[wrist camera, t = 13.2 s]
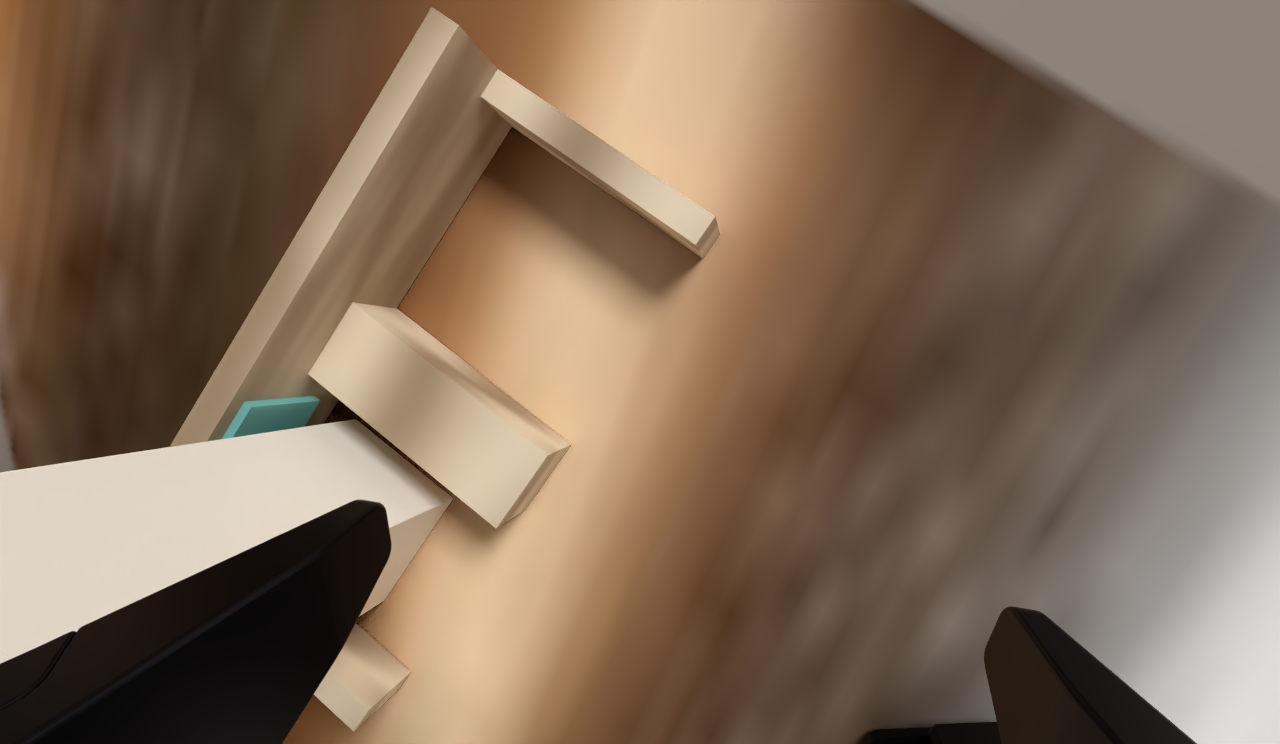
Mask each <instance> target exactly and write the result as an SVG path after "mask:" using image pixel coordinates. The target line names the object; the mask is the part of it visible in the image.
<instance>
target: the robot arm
mask: <svg viewBox="0 0 1280 744" xmlns="http://www.w3.org/2000/svg"><path fill="white" fill-rule="evenodd" d="M391 547H392V544H391V536H390V530H389V524H388V517H387V511H386V508H385V507H384V505H383V504H381V503H379V502H374V501H368V500H362V499H361V500H354V501H351V502H349V503H347V504H345V505H343V506H341V507H338V508H336V509H334V510H332V511H330V512H328V513H326V514H323V515H321V516H319V517H317V518H315V519H313V520H310V521H308V522H306V523H304V524H302V525H300V526H297V527H295V528H293V529H291V530H289V531H287V532H285V533H282V534H280V535H278V536H276V537H274V538H272V539H269V540H267V541H265V542H263V543H261V544H259V545H257V546H254V547H252V548H250V549H248V550H246V551H244V552H241V553H239V554H237V555H235V556H233V557H231V558H228V559H226V560H224V561H222V562H220V563H218V564H215V565H213V566H211V567H209V568H207V569H205V570H203V571H200V572H198V573H196V574H194V575H192V576H190V577H187V578H185V579H183V580H181V581H179V582H177V583H174V584H172V585H170V586H168V587H166V588H164V589H161V590H159V591H157V592H155V593H153V594H151V595H149V596H146V597H144V598H142V599H140V600H138V601H136V602H133V603H131V604H129V605H127V606H125V607H123V608H120V609H118V610H116V611H114V612H112V613H110V614H107V615H105V616H103V617H101V618H99V619H97V620H95V621H92V622H90V623H88V624H86V625H84V626H82V627H80V628H79V629H78V631H77V632H76V631H71V632H68V633H66V634H64V635H62V636H60V637H58V638H56V639H53V640H51V641H49V642H47V643H45V644H43V645H40V646H38V647H36V648H34V649H32V650H30V651H27V652H25V653H23V654H21V655H18V656H16V657H14V658H12V659H9V660H7V661H5V662H3V663H1V664H0V744H282V743H283V741H284V739H285V738H286V736H287V735H288V733H289V732H290V730H291V729H292V727H293V725H294V724H295V722H296V721H297V719H298V718H299V716H300V715H301V713H302V711H303V710H304V708H305V707H306V705H307V704H308V702H309V701H310V699H311V697H312V696H313V694H314V693H315V691H316V690H317V688H318V687H319V685H320V684H321V682H322V680H323V679H324V677H325V676H326V674H327V673H328V671H329V670H330V668H331V666H332V665H333V663H334V662H335V660H336V658H337V657H338V655H339V653H340V652H341V650H342V648H343V646H344V645H345V643H346V641H347V639H348V637H349V636H350V634H351V632H352V630H353V628H354V626H355V624H356V622H357V620H358V618H359V616H360V614H361V612H362V610H363V608H364V606H365V604H366V602H367V600H368V599H369V597H370V595H371V593H372V591H373V589H374V587H375V585H376V583H377V581H378V579H379V577H380V575H381V573H382V571H383V569H384V567H385V565H386V564H387V562H388V559H389V557H390V553H391ZM984 663H985V669H986V674H987V678H988V683H989V687H990V692H991V696H992V701H993V706H994V710H995V715H996V719H997V722H982V723H956V724H936V725H934V726H933V727H932V728H906V729H880V730H875V731H873V732H872V733H870V734H869V736H868V737H867V739H866V744H1197V743H1196V742H1194V741H1193V740H1192V739H1191V738H1190V737H1188V736H1187V735H1186V734H1185V733H1184V732H1183V731H1181V730H1180V729H1179V728H1178V727H1177V726H1175V725H1174V724H1173V723H1172V722H1171V721H1170V720H1168V719H1167V718H1166V717H1165V716H1164V715H1163V714H1161V713H1160V712H1159V711H1158V710H1157V709H1155V708H1154V707H1153V706H1152V705H1151V704H1150V703H1148V702H1147V701H1146V700H1145V699H1144V698H1142V697H1141V696H1140V695H1139V694H1138V693H1137V692H1135V691H1134V690H1133V689H1132V688H1131V687H1129V686H1128V685H1127V684H1126V683H1125V682H1124V681H1122V680H1121V679H1120V678H1119V677H1118V676H1117V675H1115V674H1114V673H1113V672H1112V671H1111V670H1109V669H1108V668H1107V667H1106V666H1105V665H1104V664H1102V663H1101V662H1100V661H1099V660H1098V659H1096V658H1095V657H1094V656H1093V655H1092V654H1091V653H1089V652H1088V651H1087V650H1086V649H1085V648H1084V647H1082V646H1081V645H1080V644H1079V643H1078V642H1076V641H1075V640H1074V639H1073V638H1072V637H1071V636H1069V635H1068V634H1067V633H1066V632H1065V631H1063V630H1062V629H1061V628H1060V627H1059V626H1058V625H1056V624H1055V623H1054V622H1053V621H1052V620H1051V619H1049V618H1048V617H1047V616H1046V615H1044V614H1043V613H1041V612H1039V611H1036V610H1030V609H1024V608H1018V607H1007V608H1005V609H1004V610H1003V611H1002V612H1001V614H1000V616H999V618H998V621H997V623H996V625H995V627H994V629H993V632H992V634H991V636H990V638H989V641H988V643H987V645H986V648H985V653H984Z"/></svg>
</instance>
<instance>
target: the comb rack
mask: <svg viewBox="0 0 1280 744" xmlns="http://www.w3.org/2000/svg"><path fill="white" fill-rule="evenodd" d="M512 127H513V128H514V129H516V130H517V131H519V132H520V133H522V134H523V135H525V136H526V137H527V138H529V139H530V140H532V141H533V142H535V143H536V144H538V145H539V146H540V147H542V148H543V149H545V150H546V151H548V152H549V153H551V154H552V155H553V156H555V157H556V158H558V159H559V160H561V161H562V162H564V163H565V164H567V165H568V166H569V167H571V168H572V169H574V170H575V171H577V172H578V173H580V174H581V175H582V176H584V177H585V178H587V179H588V180H590V181H591V182H593V183H594V184H595V185H597V186H598V187H600V188H601V189H603V190H604V191H606V192H607V193H608V194H610V195H611V196H613V197H614V198H616V199H617V200H619V201H620V202H621V203H623V204H624V205H626V206H627V207H629V208H630V209H632V210H633V211H634V212H636V213H637V214H639V215H640V216H642V217H643V218H645V219H646V220H647V221H649V222H650V223H652V224H653V225H655V226H656V227H658V228H659V229H660V230H662V231H663V232H665V233H666V234H668V235H669V236H671V237H672V238H673V239H675V240H676V241H678V242H679V243H681V244H682V245H684V246H685V247H686V248H688V249H689V250H691V251H692V252H694V253H695V254H697V255H698V256H699V257H701V258H702V259H703V257H704V256H705V255H706V253H707V252H708V250H709V249H710V248H711V246H712V245H713V243H714V242H715V240H716V239H717V238H718V236H719V235H720V232H719V229H718V225H717V221H716V217H715V216H714V215H712V214H711V213H709V212H708V211H706V210H705V209H703V208H702V207H700V206H699V205H697V204H696V203H695V202H693V201H692V200H690V199H689V198H687V197H686V196H684V195H683V194H681V193H680V192H678V191H677V190H675V189H674V188H672V187H671V186H669V185H668V184H666V183H665V182H663V181H662V180H661V179H659V178H658V177H656V176H655V175H653V174H652V173H650V172H649V171H647V170H646V169H644V168H643V167H641V166H640V165H638V164H637V163H635V162H634V161H632V160H631V159H630V158H628V157H627V156H625V155H624V154H622V153H621V152H619V151H618V150H616V149H615V148H613V147H612V146H610V145H609V144H607V143H606V142H604V141H603V140H601V139H600V138H598V137H597V136H596V135H594V134H593V133H591V132H590V131H588V130H587V129H585V128H584V127H582V126H581V125H579V124H578V123H576V122H575V121H573V120H572V119H570V118H569V117H567V116H566V115H565V114H563V113H562V112H560V111H559V110H557V109H556V108H554V107H553V106H551V105H550V104H548V103H547V102H545V101H544V100H542V99H541V98H539V97H538V96H536V95H535V94H533V93H532V92H531V91H529V90H528V89H526V88H525V87H523V86H522V85H520V84H519V83H517V82H516V81H514V80H513V79H511V78H510V77H508V76H507V75H505V74H504V73H502V72H501V71H499V70H498V69H497V68H496V67H495V66H494V65H493V63H492V62H491V61H490V60H489V59H488V58H487V57H486V56H485V54H484V53H483V52H482V51H481V50H480V49H479V48H478V46H477V45H476V44H475V43H474V42H473V41H472V40H471V39H470V37H469V36H468V35H467V34H466V33H465V32H464V31H463V29H462V28H461V27H460V26H459V25H458V24H456V23H455V22H453V21H452V20H450V19H449V18H447V17H446V16H444V15H443V14H441V13H440V12H438V11H437V10H435V9H434V8H431V9H430V11H429V13H428V14H427V16H426V18H425V19H424V21H423V23H422V24H421V26H420V28H419V29H418V31H417V33H416V35H415V36H414V38H413V40H412V41H411V43H410V45H409V46H408V48H407V50H406V51H405V53H404V55H403V56H402V58H401V60H400V61H399V63H398V65H397V66H396V68H395V70H394V71H393V73H392V75H391V76H390V78H389V80H388V81H387V83H386V85H385V87H384V88H383V90H382V92H381V93H380V95H379V97H378V98H377V100H376V102H375V103H374V105H373V107H372V108H371V110H370V112H369V113H368V115H367V117H366V118H365V120H364V122H363V123H362V125H361V127H360V128H359V130H358V132H357V134H356V135H355V137H354V139H353V140H352V142H351V144H350V145H349V147H348V149H347V150H346V152H345V154H344V155H343V157H342V159H341V160H340V162H339V164H338V165H337V167H336V169H335V170H334V172H333V174H332V175H331V177H330V179H329V180H328V182H327V184H326V186H325V187H324V189H323V191H322V192H321V194H320V196H319V197H318V199H317V201H316V202H315V204H314V206H313V207H312V209H311V211H310V212H309V214H308V216H307V217H306V219H305V221H304V222H303V224H302V226H301V227H300V229H299V231H298V233H297V234H296V236H295V238H294V239H293V241H292V243H291V244H290V246H289V248H288V249H287V251H286V253H285V254H284V256H283V258H282V259H281V261H280V263H279V264H278V266H277V268H276V269H275V271H274V273H273V274H272V276H271V278H270V279H269V281H268V283H267V285H266V286H265V288H264V290H263V291H262V293H261V295H260V296H259V298H258V300H257V301H256V303H255V305H254V306H253V308H252V310H251V311H250V313H249V315H248V316H247V318H246V320H245V321H244V323H243V325H242V326H241V328H240V330H239V332H238V333H237V335H236V337H235V338H234V340H233V342H232V343H231V345H230V347H229V348H228V350H227V352H226V353H225V355H224V357H223V358H222V360H221V362H220V363H219V365H218V367H217V368H216V370H215V372H214V373H213V375H212V377H211V379H210V380H209V382H208V384H207V385H206V387H205V389H204V390H203V392H202V394H201V395H200V397H199V399H198V400H197V402H196V404H195V405H194V407H193V409H192V410H191V412H190V414H189V415H188V417H187V419H186V420H185V422H184V424H183V425H182V427H181V429H180V431H179V432H178V434H177V436H176V437H175V439H174V441H173V442H172V444H171V446H170V447H174V446H180V445H187V444H194V443H200V442H207V441H214V440H220V439H227V438H233V437H240V436H247V435H253V434H260V433H267V432H273V431H280V430H287V429H293V428H300V427H307V426H313V425H320V424H324V422H325V421H326V419H327V418H328V416H329V415H330V413H331V411H332V410H333V408H334V407H335V405H336V404H337V402H338V400H340V401H341V402H342V403H344V404H345V405H346V406H347V407H349V408H350V409H351V410H352V411H353V412H355V413H356V414H357V415H358V416H360V417H361V418H362V419H363V420H364V421H366V422H367V423H368V424H369V425H370V426H372V427H373V428H374V429H375V430H377V431H378V432H379V433H380V434H381V435H383V436H384V437H385V438H386V439H388V440H389V441H390V442H391V443H392V444H394V445H395V446H396V447H397V448H398V449H400V450H401V451H402V452H403V453H405V454H406V455H407V456H408V457H409V458H411V459H412V460H413V461H414V462H415V463H417V464H418V465H419V466H420V467H422V468H423V469H424V470H425V471H426V472H428V473H429V474H430V475H431V476H433V477H434V478H435V479H436V480H437V481H439V482H440V483H441V484H442V485H443V486H445V487H446V488H447V489H448V490H450V491H451V492H452V493H453V494H454V495H456V496H457V497H458V498H459V499H461V500H462V501H463V502H464V503H465V504H467V505H468V506H469V507H470V508H471V509H473V510H474V511H475V512H476V513H478V514H479V515H480V516H481V517H482V518H484V519H485V520H486V521H487V522H488V523H490V524H491V525H492V526H493V527H495V528H496V529H497V528H498V527H500V526H501V525H503V524H504V523H506V522H507V521H509V520H510V519H512V518H513V517H515V516H516V515H518V514H519V513H521V512H522V511H524V510H525V509H526V508H527V507H528V505H529V504H530V502H531V501H532V500H533V498H534V497H535V495H536V494H537V492H538V491H539V490H540V488H541V487H542V485H543V484H544V483H545V481H546V480H547V478H548V477H549V475H550V474H551V473H552V471H553V470H554V468H555V467H556V466H557V464H558V463H559V461H560V460H561V458H562V457H563V456H564V454H565V453H566V451H567V450H568V449H569V447H570V446H571V444H570V443H569V442H568V441H567V440H565V439H564V438H563V437H561V436H560V435H559V434H557V433H556V432H555V431H554V430H552V429H551V428H550V427H548V426H547V425H546V424H545V423H543V422H542V421H541V420H539V419H538V418H537V417H536V416H534V415H533V414H532V413H530V412H529V411H528V410H527V409H525V408H524V407H523V406H521V405H520V404H519V403H518V402H516V401H515V400H514V399H512V398H511V397H510V396H509V395H507V394H506V393H505V392H503V391H502V390H501V389H500V388H498V387H497V386H496V385H494V384H493V383H492V382H491V381H489V380H488V379H487V378H485V377H484V376H483V375H482V374H480V373H479V372H478V371H476V370H475V369H474V368H473V367H471V366H470V365H469V364H467V363H466V362H465V361H464V360H462V359H461V358H460V357H458V356H457V355H456V354H455V353H453V352H452V351H451V350H449V349H448V348H447V347H446V346H444V345H443V344H442V343H440V342H439V341H438V340H437V339H435V338H434V337H433V336H431V335H430V334H429V333H427V332H426V331H425V330H424V329H422V328H421V327H420V326H418V325H417V324H416V323H415V322H413V321H412V320H411V319H409V318H408V317H407V316H406V315H404V314H403V313H402V312H400V311H399V310H398V309H397V307H398V306H399V304H400V303H401V301H402V300H403V298H404V296H405V295H406V293H407V292H408V290H409V288H410V287H411V285H412V284H413V282H414V281H415V279H416V277H417V276H418V274H419V273H420V271H421V270H422V268H423V266H424V265H425V263H426V262H427V260H428V259H429V257H430V255H431V254H432V252H433V251H434V249H435V247H436V246H437V244H438V243H439V241H440V240H441V238H442V236H443V235H444V233H445V232H446V230H447V229H448V227H449V225H450V224H451V222H452V221H453V219H454V218H455V216H456V214H457V213H458V211H459V210H460V208H461V207H462V205H463V203H464V202H465V200H466V199H467V197H468V195H469V194H470V192H471V191H472V189H473V188H474V186H475V184H476V183H477V181H478V180H479V178H480V177H481V175H482V173H483V172H484V170H485V169H486V167H487V166H488V164H489V162H490V161H491V159H492V158H493V156H494V154H495V153H496V151H497V150H498V148H499V147H500V145H501V143H502V142H503V140H504V139H505V137H506V136H507V134H508V132H509V131H510V129H511V128H512ZM409 674H410V671H409V670H408V669H407V668H406V667H405V666H403V665H402V664H401V663H400V662H399V661H398V660H397V659H396V658H394V657H393V656H392V655H391V654H390V653H389V652H388V651H387V650H385V649H384V648H383V647H382V646H381V645H380V644H379V643H378V642H376V641H375V640H374V639H373V638H372V637H371V636H370V635H369V634H367V633H366V632H365V631H364V630H363V629H362V628H361V627H360V626H359V625H357V624H355V626H354V628H353V630H352V632H351V634H350V636H349V637H348V639H347V641H346V643H345V645H344V646H343V648H342V650H341V652H340V653H339V655H338V657H337V658H336V660H335V662H334V663H333V665H332V666H331V668H330V670H329V671H328V673H327V674H326V676H325V677H324V679H323V680H322V682H321V684H320V685H319V687H318V688H317V690H316V691H315V693H314V695H315V696H316V697H317V698H318V699H319V700H320V701H321V702H322V703H323V704H324V705H326V706H327V707H328V708H329V709H330V710H331V711H332V712H333V713H334V714H335V715H336V716H337V717H338V718H340V719H341V720H342V721H343V722H344V723H345V724H346V725H347V726H348V727H349V728H350V729H351V730H352V731H355V730H356V729H357V728H358V727H359V726H360V725H361V724H363V723H364V722H365V721H366V720H367V719H368V718H369V717H370V716H371V715H372V714H373V713H374V712H375V711H376V710H378V709H379V708H380V707H381V706H382V705H383V704H384V703H385V702H386V701H387V700H388V699H389V698H390V697H392V696H393V695H394V694H395V693H396V692H397V691H398V689H399V688H400V686H401V685H402V684H403V682H404V681H405V679H406V678H407V677H408V675H409Z"/></svg>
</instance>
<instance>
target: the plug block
mask: <svg viewBox="0 0 1280 744" xmlns="http://www.w3.org/2000/svg"><path fill="white" fill-rule="evenodd" d="M361 499H362V500H368V501H374V502H379V503H381V504H383V505H384V507H385V508H386V511H387V517H388V524H389V530H390V536H391V544H392V547H391V553H390V557H389V559H388V562H387V564H386V565H385V567H384V569H383V571H382V573H381V575H380V577H379V579H378V581H377V583H376V585H375V587H374V589H373V591H372V593H371V595H370V597H369V599H368V600H367V602H366V604H365V606H364V608H363V610H362V612H361V614H360V616H361V615H363V614H364V613H366V612H367V611H369V610H370V609H372V608H373V607H375V606H376V605H378V604H379V603H381V602H382V601H384V600H385V599H386V597H387V596H388V594H389V593H390V591H391V590H392V589H393V587H394V586H395V584H396V583H397V581H398V580H399V578H400V577H401V575H402V574H403V572H404V571H405V569H406V568H407V566H408V565H409V563H410V562H411V560H412V559H413V557H414V556H415V554H416V553H417V551H418V550H419V549H420V547H421V546H422V544H423V543H424V541H425V540H426V538H427V537H428V535H429V534H430V532H431V531H432V529H433V528H434V526H435V525H436V523H437V522H438V520H439V519H440V517H441V516H442V514H443V513H444V512H445V510H446V509H447V507H448V506H449V504H450V503H451V501H452V500H453V498H452V497H451V496H450V495H449V494H447V493H446V492H445V491H444V490H442V489H441V488H440V487H439V486H438V485H436V484H435V483H434V482H433V481H431V480H430V479H429V478H428V477H426V476H425V475H424V474H423V473H422V472H420V471H419V470H418V469H417V468H415V467H414V466H413V465H412V464H410V463H409V462H408V461H407V460H406V459H404V458H403V457H402V456H401V455H399V454H398V453H397V452H396V451H395V450H393V449H392V448H391V447H390V446H388V445H387V444H386V443H385V442H383V441H382V440H381V439H380V438H379V437H377V436H376V435H375V434H374V433H372V432H371V431H370V430H369V429H368V428H366V427H365V426H364V425H363V424H361V423H360V422H359V421H358V420H356V419H353V420H346V421H340V422H333V423H326V424H320V425H313V426H307V427H300V428H293V429H287V430H280V431H273V432H267V433H260V434H253V435H247V436H240V437H233V438H227V439H220V440H214V441H207V442H200V443H194V444H187V445H180V446H174V447H167V448H160V449H154V450H147V451H141V452H134V453H127V454H121V455H114V456H107V457H101V458H94V459H87V460H81V461H74V462H67V463H61V464H54V465H48V466H41V467H34V468H28V469H21V470H14V471H8V472H1V473H0V664H1V663H3V662H5V661H7V660H9V659H12V658H14V657H16V656H18V655H21V654H23V653H25V652H27V651H30V650H32V649H34V648H36V647H38V646H40V645H43V644H45V643H47V642H49V641H51V640H53V639H56V638H58V637H60V636H62V635H64V634H66V633H68V632H71V631H76V632H77V631H78V629H79V628H80V627H82V626H84V625H86V624H88V623H90V622H92V621H95V620H97V619H99V618H101V617H103V616H105V615H107V614H110V613H112V612H114V611H116V610H118V609H120V608H123V607H125V606H127V605H129V604H131V603H133V602H136V601H138V600H140V599H142V598H144V597H146V596H149V595H151V594H153V593H155V592H157V591H159V590H161V589H164V588H166V587H168V586H170V585H172V584H174V583H177V582H179V581H181V580H183V579H185V578H187V577H190V576H192V575H194V574H196V573H198V572H200V571H203V570H205V569H207V568H209V567H211V566H213V565H215V564H218V563H220V562H222V561H224V560H226V559H228V558H231V557H233V556H235V555H237V554H239V553H241V552H244V551H246V550H248V549H250V548H252V547H254V546H257V545H259V544H261V543H263V542H265V541H267V540H269V539H272V538H274V537H276V536H278V535H280V534H282V533H285V532H287V531H289V530H291V529H293V528H295V527H297V526H300V525H302V524H304V523H306V522H308V521H310V520H313V519H315V518H317V517H319V516H321V515H323V514H326V513H328V512H330V511H332V510H334V509H336V508H338V507H341V506H343V505H345V504H347V503H349V502H351V501H354V500H361Z"/></svg>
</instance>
